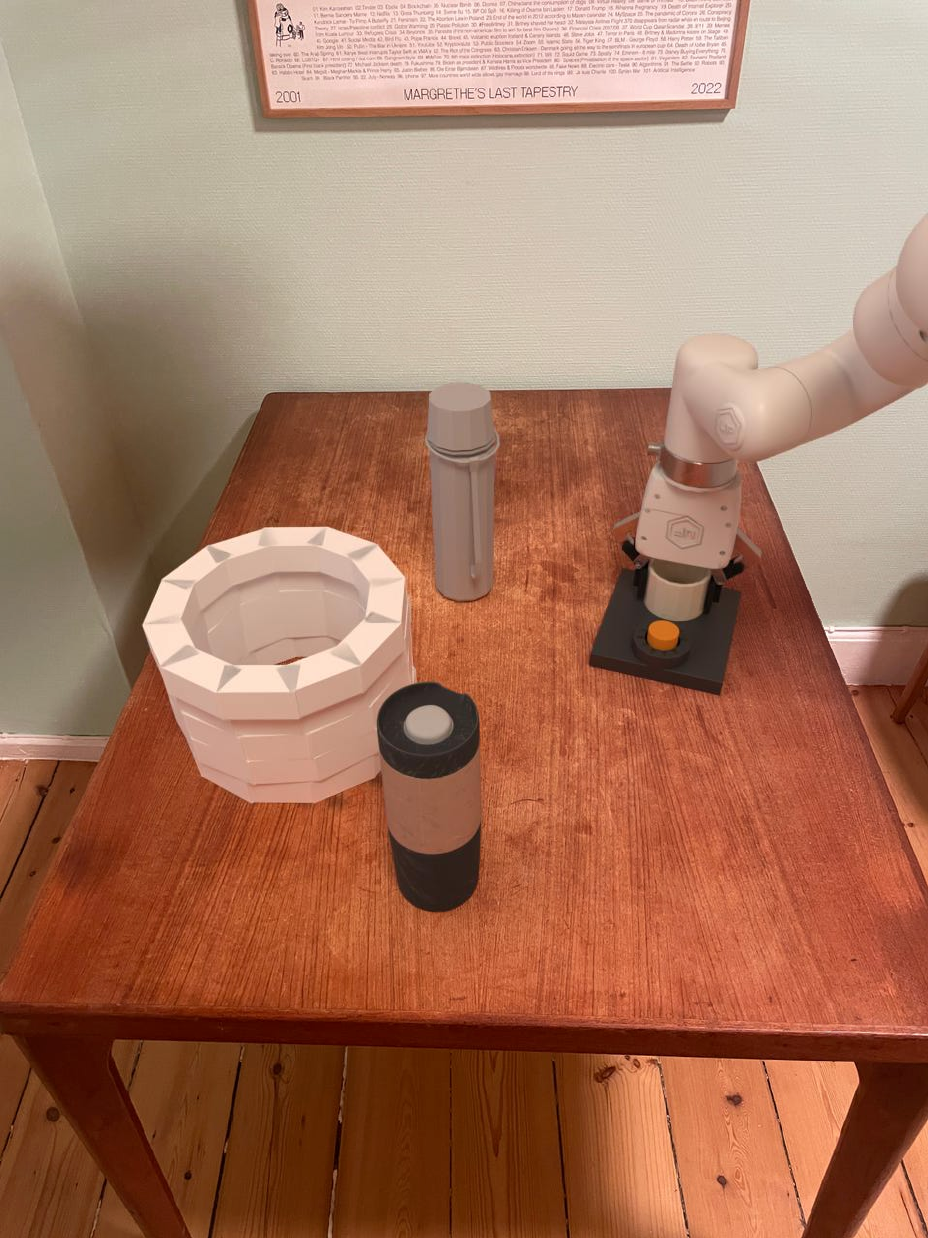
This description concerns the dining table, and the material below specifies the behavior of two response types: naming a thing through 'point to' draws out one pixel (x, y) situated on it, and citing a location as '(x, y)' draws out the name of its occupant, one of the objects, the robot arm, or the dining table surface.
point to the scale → (685, 665)
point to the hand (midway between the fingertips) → (675, 596)
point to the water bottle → (462, 488)
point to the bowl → (676, 590)
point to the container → (283, 659)
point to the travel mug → (432, 792)
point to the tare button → (663, 635)
